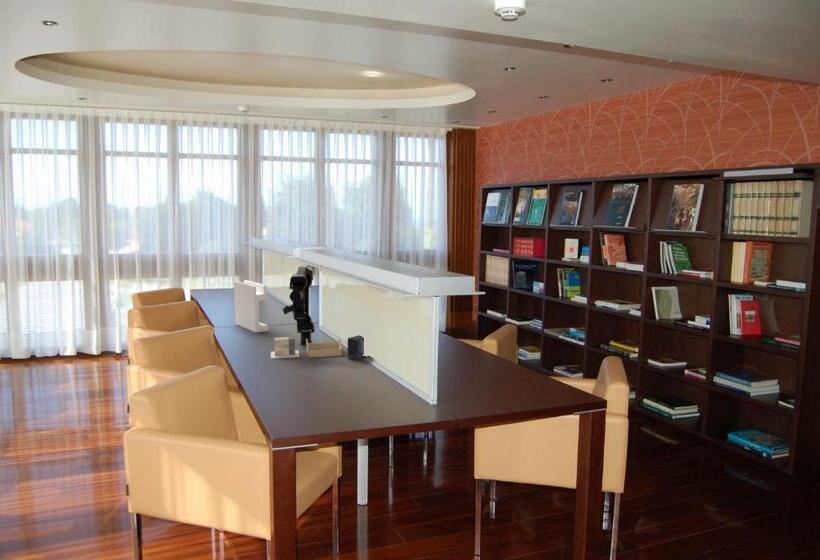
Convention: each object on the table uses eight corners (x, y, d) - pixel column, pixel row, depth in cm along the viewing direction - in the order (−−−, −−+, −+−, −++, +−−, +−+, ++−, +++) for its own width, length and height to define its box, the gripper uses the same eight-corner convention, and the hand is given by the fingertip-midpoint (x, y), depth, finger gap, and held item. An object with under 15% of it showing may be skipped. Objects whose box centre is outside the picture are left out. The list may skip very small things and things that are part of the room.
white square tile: (270, 352, 329) (270, 351, 329) (298, 351, 332) (298, 350, 332) (270, 358, 315) (270, 357, 315) (299, 357, 318) (299, 356, 318)
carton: (306, 349, 334) (306, 338, 333) (339, 348, 338) (339, 336, 337) (308, 357, 317) (307, 345, 317) (343, 355, 321) (342, 343, 320)
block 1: (235, 323, 410) (233, 280, 407) (247, 322, 414) (245, 279, 411) (255, 332, 381) (253, 286, 378) (268, 330, 386) (266, 285, 383)
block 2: (274, 353, 325) (274, 337, 324) (294, 352, 327) (294, 336, 326) (274, 355, 320) (274, 339, 319) (295, 354, 322) (294, 338, 321)
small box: (356, 360, 310) (356, 339, 309) (347, 358, 314) (346, 338, 313) (371, 356, 319) (370, 335, 317) (361, 354, 322) (360, 334, 321)
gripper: (282, 297, 334) (283, 326, 336) (283, 302, 316) (284, 333, 318) (303, 296, 336) (304, 325, 338) (305, 301, 318) (306, 332, 320)
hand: (299, 329), depth 328 cm, fingers open, 9 cm apart
